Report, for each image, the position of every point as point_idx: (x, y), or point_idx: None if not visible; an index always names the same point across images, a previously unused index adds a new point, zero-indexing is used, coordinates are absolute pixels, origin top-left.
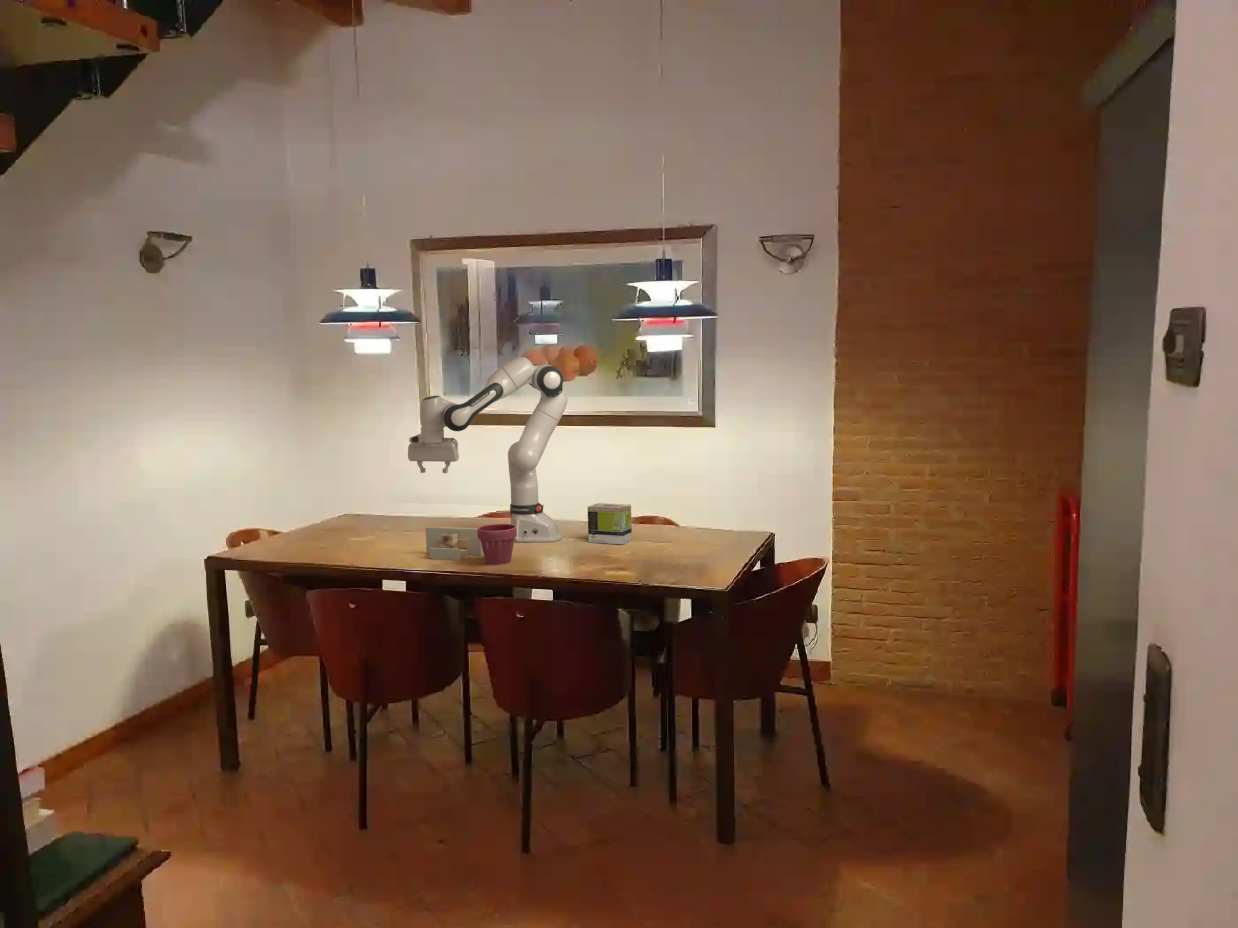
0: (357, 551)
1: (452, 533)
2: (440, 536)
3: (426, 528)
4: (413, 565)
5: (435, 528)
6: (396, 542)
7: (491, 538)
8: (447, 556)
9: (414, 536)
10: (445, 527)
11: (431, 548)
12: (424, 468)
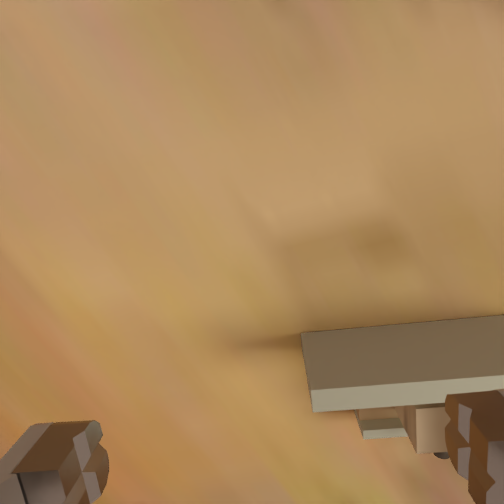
0: (41, 377)
1: None
2: (416, 450)
3: (316, 409)
4: (346, 494)
5: (363, 407)
6: (69, 209)
7: None
8: None
9: (59, 72)
10: (407, 386)
11: (371, 438)
12: (67, 496)
